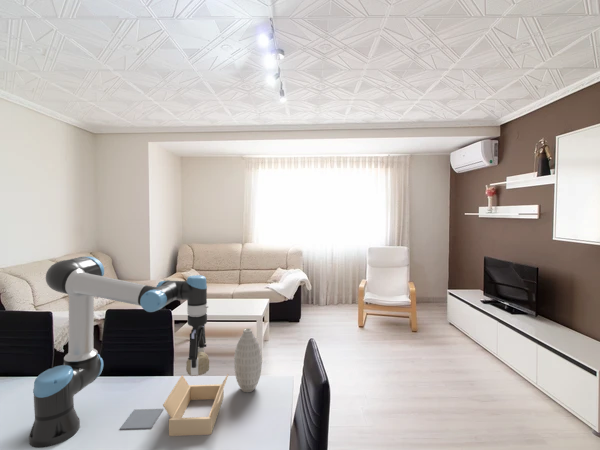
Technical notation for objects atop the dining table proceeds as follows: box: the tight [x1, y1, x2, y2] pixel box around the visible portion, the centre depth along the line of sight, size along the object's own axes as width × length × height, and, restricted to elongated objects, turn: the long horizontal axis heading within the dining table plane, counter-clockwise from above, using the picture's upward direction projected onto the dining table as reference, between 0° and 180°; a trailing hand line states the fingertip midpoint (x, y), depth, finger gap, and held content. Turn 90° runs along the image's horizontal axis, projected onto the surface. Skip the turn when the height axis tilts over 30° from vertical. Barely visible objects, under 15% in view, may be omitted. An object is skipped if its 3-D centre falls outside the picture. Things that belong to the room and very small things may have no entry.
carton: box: [162, 373, 230, 437], centre depth 131 cm, size 20×24×11 cm
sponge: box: [185, 351, 210, 377], centre depth 131 cm, size 9×10×10 cm
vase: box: [233, 328, 263, 393], centre depth 150 cm, size 13×13×28 cm
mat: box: [119, 408, 164, 431], centre depth 129 cm, size 12×12×1 cm
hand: (198, 368), depth 131 cm, fingers closed on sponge, 9 cm apart
